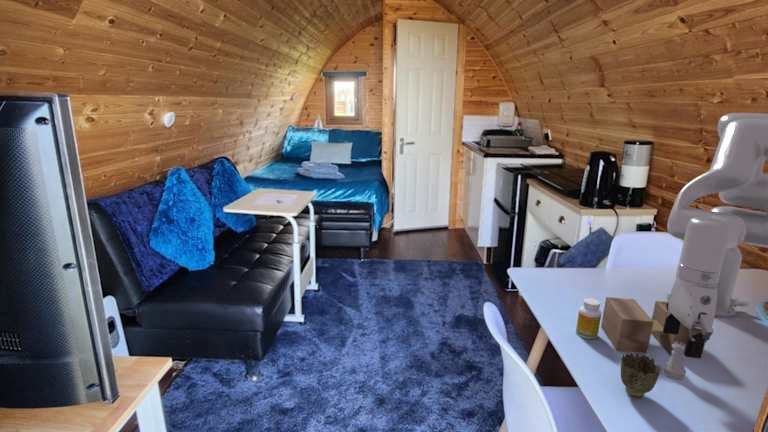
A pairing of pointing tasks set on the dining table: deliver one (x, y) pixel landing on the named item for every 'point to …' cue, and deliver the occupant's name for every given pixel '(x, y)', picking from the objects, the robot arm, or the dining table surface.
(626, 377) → the cup
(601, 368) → the dining table surface
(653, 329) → the gold metallic block
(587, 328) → the supplement bottle
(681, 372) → the rook chess piece
